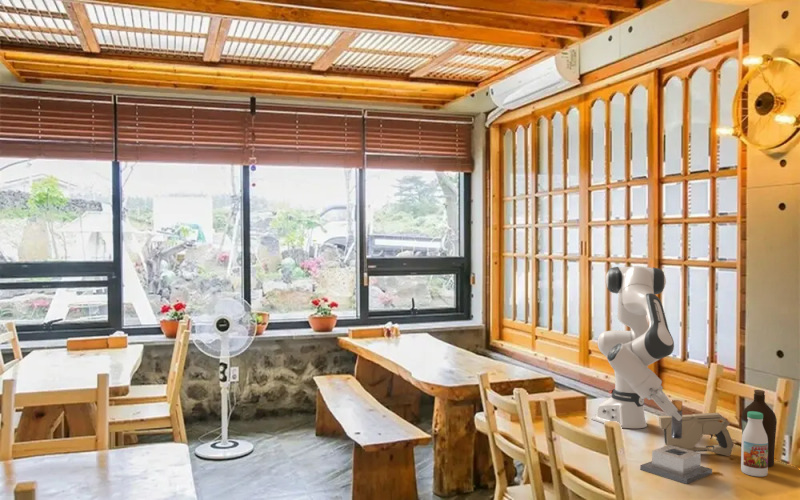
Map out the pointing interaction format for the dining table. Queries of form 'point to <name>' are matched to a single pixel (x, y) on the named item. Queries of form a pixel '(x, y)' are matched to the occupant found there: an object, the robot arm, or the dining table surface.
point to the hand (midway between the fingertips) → (678, 417)
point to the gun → (699, 432)
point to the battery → (677, 425)
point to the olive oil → (768, 421)
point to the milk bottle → (754, 446)
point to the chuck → (676, 464)
